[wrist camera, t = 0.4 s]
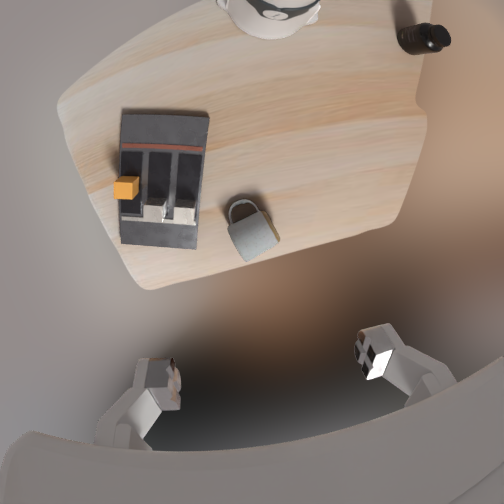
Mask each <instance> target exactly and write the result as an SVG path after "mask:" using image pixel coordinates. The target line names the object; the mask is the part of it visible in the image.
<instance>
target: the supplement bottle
mask: <svg viewBox="0 0 504 504" xmlns="http://www.w3.org/2000/svg"><path fill="white" fill-rule="evenodd" d="M398 41H399V44H400V46H401V47H402V49H403V50H404V51H405V52H407V53H408V54H411V55H421V54H427V53H436V52H440V51H441V50H442V48H443V47H447V46H449V45H450V43H451V37H450V35H449V33H448V31H447V29H445V28H444V27H443V26H442V25H432V24H430V23H421V24H417V25H413V26H410V27H406V28H403V29H401V30H400V31H399V33H398Z"/></svg>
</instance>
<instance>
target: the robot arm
mask: <svg viewBox="0 0 504 504" xmlns="http://www.w3.org/2000/svg"><path fill="white" fill-rule="evenodd" d="M319 1H320V0H217V5H218V6H219V7H220V8H222V9H223V10H225V11H226V12H228V14H229V15H230V17H231V19H232V20H233V22H234V23H235V24H236V25H237V26H238V27H239V28H240V29H241V30H243V31H244V32H246V33H248V34H250V35H252V36H255V37H258V38H262V39H280V38H285V37H288V36H290V35H292V34H294V33H295V32H297V31H298V30H299V29H300V28H301V27H303V26H306V25H310V24H313V23H315V22H316V21H317V20H318V10H319V9H320V7H321V6H320V5H319ZM357 337H358V339H359V340H358V341H357V342H356V344H355V348H354V350H355V356H356V359H357V361H358V362H359V363H360V364H362V365H363V366H362V371H363V373H364V375H365V377H366V380H368V379H372V378H375V377H379V376H383V377H384V378H386V379H387V380H388V381H390V382H391V383H393V384H394V385H395V386H396V387H398V388H399V389H401V390H402V391H403V392H405V393H406V394H408V395H409V396H410V397H409V399H408V400H407V402H406V403H405V405H404V407H405V408H403V409H401V410H398V411H396V412H394V413H391V414H388V415H385V416H382V417H380V418H377V419H374V420H371V421H368V422H365V423H362V424H359V425H355V426H353V427H349V428H345V429H342V430H338V431H334V432H331V433H327V434H323V435H319V436H314V437H310V438H305V439H300V440H296V441H290V442H285V443H279V444H273V445H266V446H259V447H251V448H242V449H232V450H217V451H195V452H194V451H193V452H169V451H168V452H167V451H152V449H151V447H150V446H149V445H148V444H147V443H146V442H145V441H144V440H143V438H144V436H145V435H146V433H147V432H148V430H149V429H150V428H151V426H152V425H153V423H154V422H155V420H156V419H157V418H158V416H159V414H160V413H161V412H162V411H161V410H180V396H179V393H178V392H179V391H180V389H181V379H180V374H179V371H178V369H177V368H175V362H174V359H173V358H145V359H139V360H138V362H137V367H136V372H135V377H134V382H133V387H132V388H129V389H128V390H127V391H126V392H125V393H124V394H123V395H122V396H121V397H120V398H119V399H118V401H117V402H116V403H115V404H114V405H113V406H112V407H111V408H110V409H109V410H108V411H107V412H106V413H105V414H104V415H103V416H102V417H101V418H100V419H99V420H98V424H97V429H96V434H95V439H94V444H88V443H82V442H77V441H72V440H67V439H63V438H59V437H55V436H50V435H47V434H43V433H40V432H36V431H29V432H26V433H25V434H23V435H22V436H21V437H20V438H19V439H17V440H16V441H15V442H14V443H13V444H12V445H11V446H10V447H9V448H8V450H7V452H6V454H5V457H4V459H3V462H2V466H1V470H0V504H504V356H502V357H500V358H498V359H497V360H495V361H493V362H492V363H490V364H489V365H487V366H486V367H484V368H482V369H481V370H479V371H478V372H476V373H474V374H472V375H471V376H469V377H467V378H466V379H464V380H462V381H460V382H458V383H457V381H456V380H455V378H454V376H453V375H452V373H451V372H450V370H449V369H448V367H447V366H446V365H445V364H443V363H441V362H439V361H437V360H435V359H433V358H431V357H429V356H427V355H425V354H423V353H421V352H419V351H418V350H416V349H414V348H412V347H410V346H405V345H404V343H403V342H402V340H401V339H400V337H399V336H398V334H397V333H396V331H395V330H394V329H393V327H392V326H391V324H389V323H387V324H383V325H380V326H375V327H371V328H367V329H363V330H360V331H359V332H358V336H357Z"/></svg>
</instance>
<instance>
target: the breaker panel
mask: <svg viewBox="0 0 504 504" xmlns="http://www.w3.org/2000/svg"><path fill="white" fill-rule="evenodd" d="M209 119H210V118H208V117H195V116H179V115H153V114H124V115H122V125H121V140H120V163H119V178H120V177H121V176H138V177H139V192H138V194H137V195H136V196H135V197H134V198H133V199H132V200H131V199H119V210H120V234H121V244H132V245H144V246H157V247H170V248H183V249H195V250H196V247H197V233H198V220H199V208H200V197H201V187H202V177H203V168H204V159H205V150H206V142H207V134H208V126H209Z"/></svg>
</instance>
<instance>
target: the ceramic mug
mask: <svg viewBox="0 0 504 504" xmlns="http://www.w3.org/2000/svg"><path fill="white" fill-rule="evenodd" d="M248 202H249V203H250V204H252V205H253V206H254V207H255V208H256V210H257V212H256V213H254V214H252V215H250V216H248V217H246V218H244V219H242V220H240V221H238V222H236V223H233V221H232V218H231V211H232V209H233V208H234V207H235V206H237V205H239V204H245V203H248ZM229 221H230V224H231V225H230V226H228V233H229V235H230V237H231V239H232V242H233V243H234V245H235V247H236V249H237V251H238V252H239V254H240V255H241V257H242V258H243V260H244V261H246V262H247V261H250V260H251V259H253V258H255V257H256V256H258V255H260V254H261V253H263V252H265V251H266V250H268V249H270V248H272V247H273V246H275V245H276V244H277V243H278V242H279V241H280V237H279V235H278V233H277V231H276V229H275V227H274V225H273V224H272V222H271V220H270V218H269V216H268V214H267V213H266V212H265V211H259V209H258V207H257V206H256V205H255V204H254V203H253V202H252V201H250V200H247V199H242V200H238V201H236V202H234V203H233V204H232V205H231V207H230V209H229Z"/></svg>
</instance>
